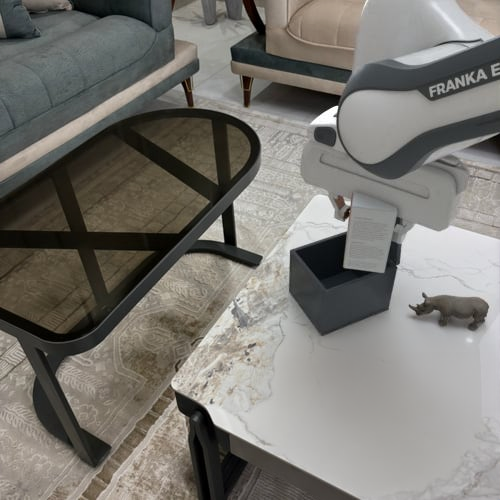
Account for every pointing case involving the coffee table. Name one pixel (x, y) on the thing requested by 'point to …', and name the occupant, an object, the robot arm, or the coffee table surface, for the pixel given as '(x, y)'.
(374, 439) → the coffee table surface
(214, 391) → the coffee table surface
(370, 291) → the bin
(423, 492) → the coffee table surface
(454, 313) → the rhino figurine
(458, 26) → the robot arm
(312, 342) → the coffee table surface
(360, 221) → the small box
